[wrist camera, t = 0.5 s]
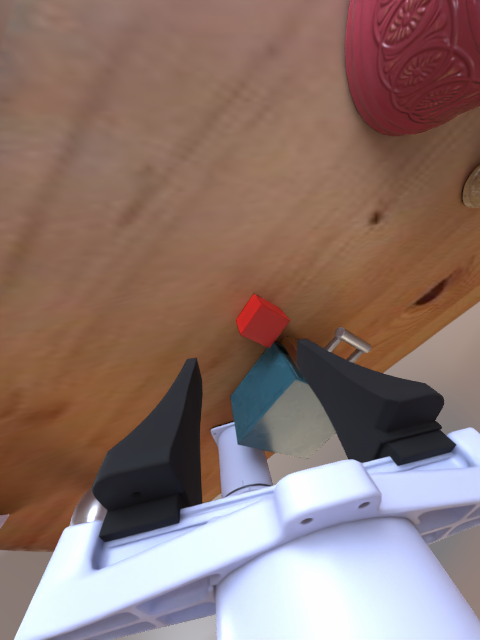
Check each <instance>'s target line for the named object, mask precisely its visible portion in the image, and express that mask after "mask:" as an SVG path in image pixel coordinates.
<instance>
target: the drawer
mask: <svg viewBox="0 0 480 640" xmlns="http://www.w3.org/2000/svg"><path fill="white" fill-rule="evenodd" d="M341 340H343V341H345V342H346V343H348V344H350V345H352V346H353V347H355V348H357V349H356V350H355V351H354V352H353V353H352V354H351V355H350V356H349V357H348V358H347V359H346V360H347V361H350V362H352V363H354V362H355V361H356V360H357V358H358V357H359V356H360V355H361V354H362V353H363V352H364V353H368V352H369V351H370V350H371V345H370V344H368V343H367V342H365V341H364V340H362V339H360V338H359V337H357V336H356V335H354V334H352V333H351V332H349V331H347V330H346V329H344V328H343V327H339V328H337V329H336V331H335V337H334V338H333V339H332V340H331V341H330V342H329V344H328V345H327V346H326V347H325V348H324V349H325V350H327V351H329V352H332V351H333V349H334V348H335V347H336V346H337V345H338V344H339V343H340V342H341ZM281 343H282V345H283V346H284V348H285V349H286V351H287V352H288V354H289V355H290V356H289V355H287V354H285V353H283V354H284V356H285V357H286V359H287V361H288V362H289V364H290V366H291V367H292V369H293V371H294V372H295V374H296V376H297V377H299V378H301V379H304V380H305V378H304V377H303V375H302V373H301V371H300V369H299V367H298V365H297V363H296V359H297V343H298V341H296V340H294V339H292V338H290V337H288V336H286V337H285V338H284V339H283V341H282V342H281Z"/></svg>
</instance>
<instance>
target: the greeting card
mask: <svg viewBox="0 0 480 640" xmlns="http://www.w3.org/2000/svg"><path fill="white" fill-rule="evenodd" d="M9 515H10V514H8V515H1V516H0V529H1V527H2V526H3V524H4V523H5V521H6V520H7V518H8V516H9Z"/></svg>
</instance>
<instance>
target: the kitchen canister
mask: <svg viewBox="0 0 480 640" xmlns="http://www.w3.org/2000/svg"><path fill="white" fill-rule="evenodd" d="M345 60H346V72H347V78H348V84H349V88H350V92H351V95H352V98H353V101H354V103H355V106H356V108H357V110H358V112H359V113H360V115H361V116H362V118H363V119H364V120H365V122H366V123H367V124H368V125H369V126H370V127H372V128H373V129H374V130H376V131H378V132H379V133H382V134H384V135H388V136H403V135H410V134H417V133H422V132H425V131H428V130H430V129H432V128H435V127H438V126H440V125H442V124H444V123H446V122H448V121H450V120H452V119H453V118H455V117H456V116H458V115H460V114H462V113H464V112H467V111H469V110H471V109H474V108H476V107H479V106H480V0H351V1H350V6H349V12H348V18H347V26H346V39H345Z"/></svg>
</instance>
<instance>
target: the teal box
mask: <svg viewBox="0 0 480 640" xmlns="http://www.w3.org/2000/svg"><path fill="white" fill-rule="evenodd" d="M283 353H285V354H287V355H289V354H288V352H287V351H286V349H285V348H284V346H283V345H281V344H279V343H277V342H275V341H274V343H273V344H272V345H271V347H270V348H267V349H266V350H265V352H264V353H263V354H262V356H261V357H260V358H259V360H258V361H257V362H256V364H255V365H254V366H253V367H252V369H251V370H250V371H249V373H248V374H247V375H246V377H245V378H244V379H243V381H242V382H241V383H240V385H239V386H238V387H237V388H236V390H235V391H234V392H233V394H232V395H231V396H230V397H231V404H232V411H233V417H234V424H235V430H236V437H237V444H238V445H241V446H246V447H251V448H256V449H261V450H266V451H270V452H275V453H280V454H285V455H290V456H294V457H299V458H304V459H308V458H309V457H310V456H311V455H312V454H313V453H314V452H315V451H317V450H318V449H319V448H320V447H321V446H322V445H323V444H324V443H326V441H328V440H329V439H330V438H331V437H332V436H333V435H334V434H335V433H336V431H335V429H334V427H333V425H332V423H331V421H330V419H329V417H328V415H327V414H326V412H325V410H324V408H323V406H322V404H321V403H320V401H319V400H318V398H317V397H316V395H315V394H314V392H313V391H312V389H311V388H310V386H309V385H308V383H307V381H306V380H304V379H301V378H299V377H297V376H296V374H295V372H294V371H293V369H292V367H291V366H290V364H289V362H288V361H287V359H286V357H285V356H284V354H283ZM289 356H290V355H289Z"/></svg>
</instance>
